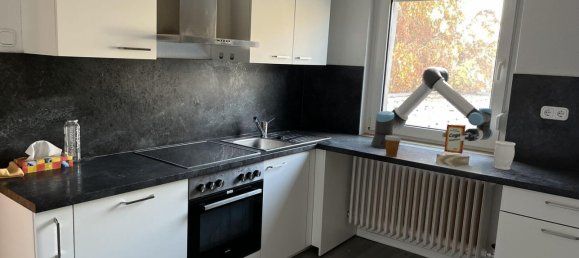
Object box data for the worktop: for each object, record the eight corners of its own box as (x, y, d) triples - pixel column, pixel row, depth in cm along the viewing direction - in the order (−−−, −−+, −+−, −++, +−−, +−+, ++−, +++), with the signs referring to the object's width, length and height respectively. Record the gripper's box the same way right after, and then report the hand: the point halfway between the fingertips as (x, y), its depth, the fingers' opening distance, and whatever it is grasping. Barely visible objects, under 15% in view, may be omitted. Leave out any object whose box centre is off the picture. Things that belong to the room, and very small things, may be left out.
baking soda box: (444, 151, 258) (447, 123, 256) (445, 149, 264) (448, 122, 261) (461, 153, 254) (464, 125, 252) (462, 151, 260) (465, 124, 258)
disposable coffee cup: (388, 157, 268) (389, 137, 266) (380, 154, 277) (382, 134, 275) (402, 157, 270) (404, 137, 268) (394, 154, 279) (396, 135, 278)
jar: (495, 165, 262) (498, 140, 259) (514, 168, 255) (517, 142, 253) (489, 168, 254) (492, 141, 251) (509, 171, 247) (512, 144, 245)
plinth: (435, 162, 261) (436, 154, 260) (450, 160, 269) (451, 152, 268) (453, 167, 251) (454, 158, 250) (468, 164, 259) (469, 156, 258)
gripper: (491, 144, 259) (469, 146, 246) (455, 137, 278) (433, 139, 265) (492, 131, 258) (470, 133, 245) (456, 125, 277) (434, 127, 264)
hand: (451, 136), depth 255 cm, fingers closed on baking soda box, 11 cm apart
